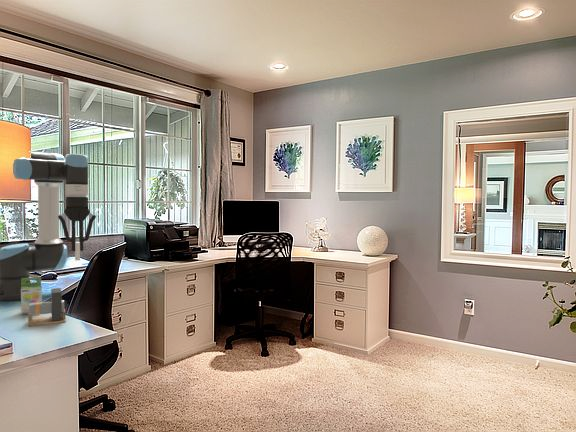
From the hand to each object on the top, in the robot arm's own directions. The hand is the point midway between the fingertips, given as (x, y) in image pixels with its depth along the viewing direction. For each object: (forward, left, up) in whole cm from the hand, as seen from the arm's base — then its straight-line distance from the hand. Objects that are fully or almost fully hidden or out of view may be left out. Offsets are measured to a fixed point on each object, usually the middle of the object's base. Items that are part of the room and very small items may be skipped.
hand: (77, 259), depth 161 cm
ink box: (-16, -15, -22) cm, 31 cm away
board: (0, -10, -22) cm, 24 cm away
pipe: (0, -10, -19) cm, 21 cm away
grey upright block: (0, -7, -22) cm, 23 cm away
